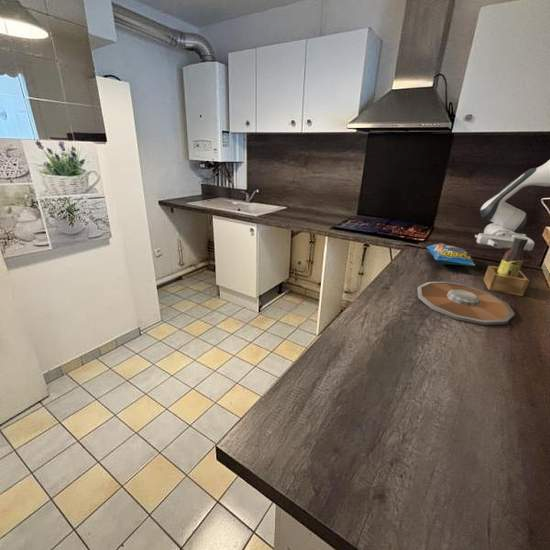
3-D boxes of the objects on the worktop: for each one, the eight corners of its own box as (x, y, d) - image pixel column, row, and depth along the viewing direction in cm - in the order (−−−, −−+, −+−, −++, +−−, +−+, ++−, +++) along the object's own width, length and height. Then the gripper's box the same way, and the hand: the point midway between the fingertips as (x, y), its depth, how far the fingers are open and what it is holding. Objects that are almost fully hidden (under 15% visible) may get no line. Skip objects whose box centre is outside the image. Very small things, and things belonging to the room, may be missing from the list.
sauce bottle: (503, 289, 114) (523, 240, 106) (488, 282, 119) (506, 236, 111) (515, 288, 115) (535, 240, 107) (500, 281, 121) (518, 235, 113)
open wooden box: (514, 285, 120) (520, 270, 117) (522, 296, 111) (529, 280, 108) (483, 279, 124) (488, 265, 121) (488, 289, 115) (494, 274, 112)
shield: (427, 270, 122) (516, 292, 106) (425, 277, 123) (513, 300, 107) (408, 296, 100) (517, 329, 84) (406, 304, 101) (513, 338, 85)
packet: (432, 269, 132) (437, 252, 129) (424, 253, 153) (428, 237, 149) (474, 275, 128) (481, 257, 124) (460, 258, 148) (466, 242, 145)
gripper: (476, 228, 135) (481, 235, 123) (529, 234, 128) (541, 242, 116) (471, 241, 138) (477, 249, 126) (524, 248, 130) (535, 257, 119)
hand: (508, 246), depth 121 cm, fingers open, 8 cm apart
